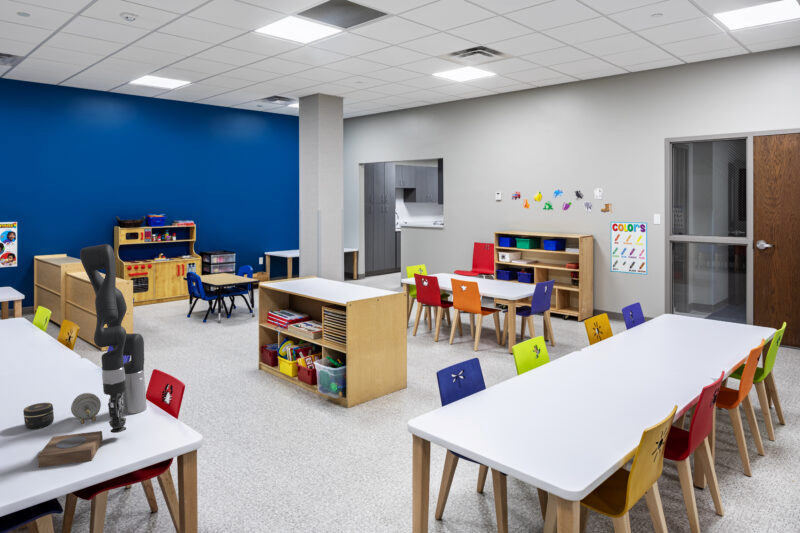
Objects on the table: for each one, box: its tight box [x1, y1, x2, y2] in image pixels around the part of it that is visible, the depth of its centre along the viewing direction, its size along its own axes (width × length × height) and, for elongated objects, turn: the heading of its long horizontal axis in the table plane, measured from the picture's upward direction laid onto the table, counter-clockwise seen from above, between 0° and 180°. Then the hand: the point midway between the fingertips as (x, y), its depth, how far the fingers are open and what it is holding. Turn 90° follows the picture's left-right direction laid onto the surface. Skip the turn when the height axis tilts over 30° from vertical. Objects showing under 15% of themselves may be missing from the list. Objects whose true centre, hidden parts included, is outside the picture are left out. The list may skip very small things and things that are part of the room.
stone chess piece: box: [108, 404, 127, 434], centre depth 204 cm, size 6×6×12 cm
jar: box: [22, 402, 55, 430], centre depth 218 cm, size 10×10×8 cm
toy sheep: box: [70, 392, 102, 425], centre depth 222 cm, size 11×17×11 cm, turn 39°
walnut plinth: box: [37, 430, 104, 468], centre depth 193 cm, size 16×16×4 cm
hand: (117, 422), depth 205 cm, fingers closed on stone chess piece, 6 cm apart
